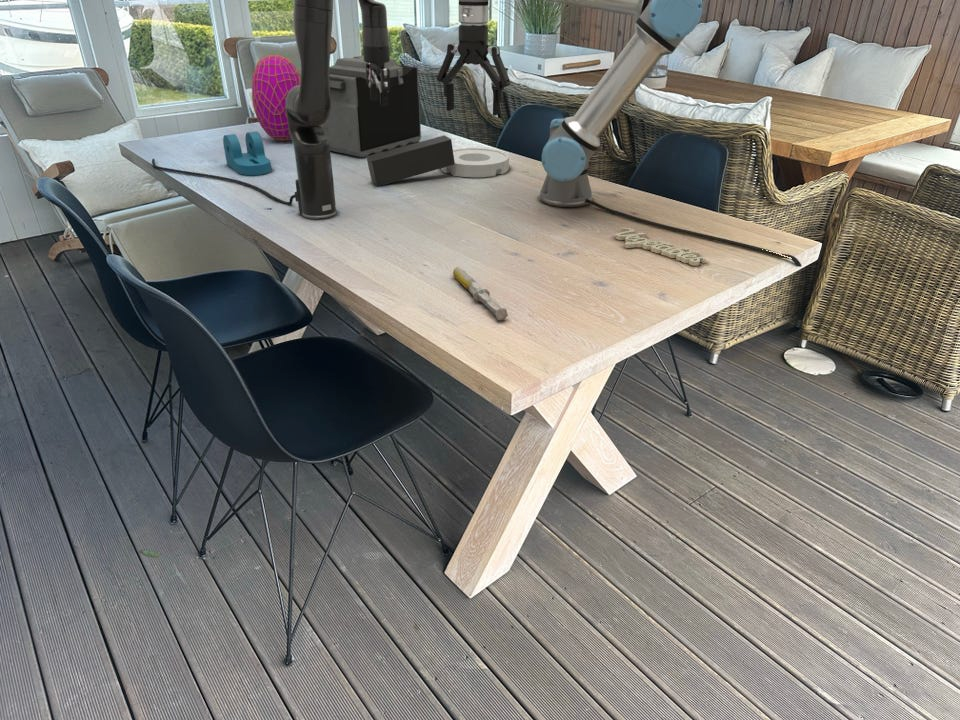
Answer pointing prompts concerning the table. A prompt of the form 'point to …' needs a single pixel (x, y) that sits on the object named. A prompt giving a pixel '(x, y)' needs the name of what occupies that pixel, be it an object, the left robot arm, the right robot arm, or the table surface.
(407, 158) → the bar
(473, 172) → the ashtray
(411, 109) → the cooler box
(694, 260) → the decorative sign
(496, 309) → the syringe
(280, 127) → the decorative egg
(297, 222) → the table surface
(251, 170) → the camera mount
